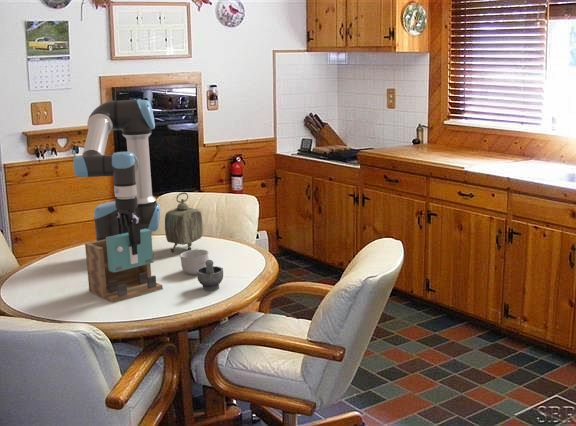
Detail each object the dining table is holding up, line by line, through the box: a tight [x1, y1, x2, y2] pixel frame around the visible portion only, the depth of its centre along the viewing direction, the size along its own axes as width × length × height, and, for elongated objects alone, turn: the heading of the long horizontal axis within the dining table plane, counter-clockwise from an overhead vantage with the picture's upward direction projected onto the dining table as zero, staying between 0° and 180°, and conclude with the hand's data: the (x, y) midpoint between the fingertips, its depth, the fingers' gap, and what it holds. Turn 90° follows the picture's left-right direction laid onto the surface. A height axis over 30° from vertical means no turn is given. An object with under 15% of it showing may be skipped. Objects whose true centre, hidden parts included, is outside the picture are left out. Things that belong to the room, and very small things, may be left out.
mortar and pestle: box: [196, 259, 224, 292], centre depth 270 cm, size 11×9×12 cm
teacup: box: [179, 248, 210, 276], centre depth 291 cm, size 14×11×8 cm
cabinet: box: [84, 239, 164, 304], centre depth 270 cm, size 17×20×18 cm
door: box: [106, 229, 154, 272], centre depth 264 cm, size 5×16×12 cm, turn 133°
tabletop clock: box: [164, 192, 204, 253], centre depth 319 cm, size 14×9×25 cm, turn 144°
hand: (130, 262), depth 266 cm, fingers closed on door, 3 cm apart
